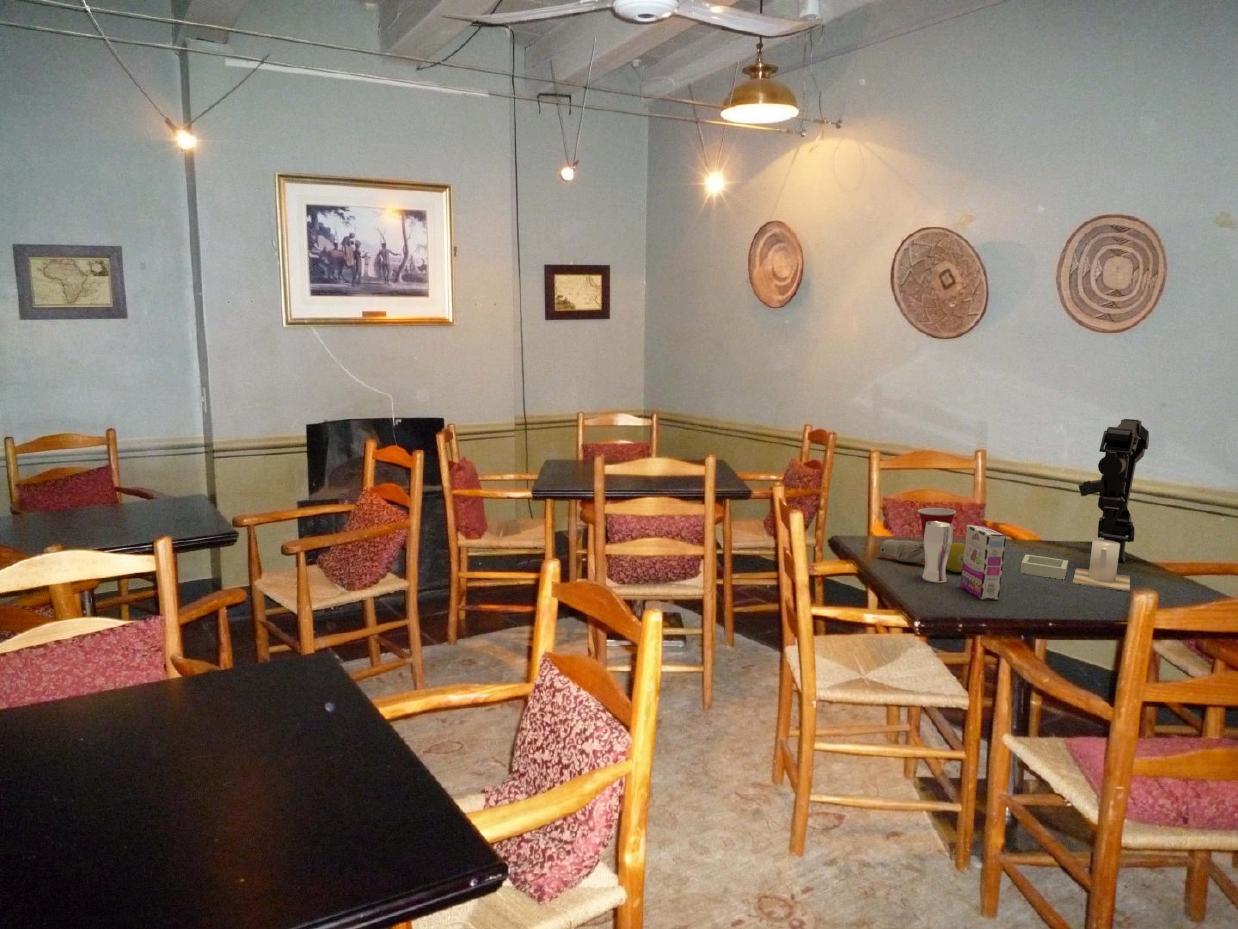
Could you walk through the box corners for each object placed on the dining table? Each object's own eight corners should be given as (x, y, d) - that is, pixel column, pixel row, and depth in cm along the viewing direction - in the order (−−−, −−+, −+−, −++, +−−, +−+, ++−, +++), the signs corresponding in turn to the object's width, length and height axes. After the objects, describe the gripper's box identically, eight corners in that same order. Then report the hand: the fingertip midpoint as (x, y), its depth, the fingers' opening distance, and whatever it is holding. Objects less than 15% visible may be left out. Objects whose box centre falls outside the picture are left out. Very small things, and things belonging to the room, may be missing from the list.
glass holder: (1024, 564, 246) (1025, 554, 245) (1066, 571, 240) (1068, 560, 240) (1020, 573, 237) (1021, 562, 236) (1064, 580, 231) (1065, 569, 231)
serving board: (1075, 570, 242) (1076, 568, 242) (1129, 578, 235) (1129, 576, 235) (1072, 583, 228) (1072, 581, 228) (1129, 592, 222) (1129, 590, 221)
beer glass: (944, 576, 230) (949, 521, 228) (951, 584, 224) (957, 527, 221) (917, 575, 231) (922, 520, 229) (923, 582, 224) (929, 526, 222)
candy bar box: (1000, 600, 211) (1007, 535, 208) (980, 600, 211) (987, 534, 208) (978, 587, 222) (984, 524, 219) (959, 586, 222) (965, 524, 219)
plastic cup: (920, 542, 269) (924, 504, 267) (956, 548, 262) (960, 509, 261) (909, 548, 260) (913, 509, 258) (946, 555, 254) (950, 515, 252)
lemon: (935, 572, 234) (938, 543, 233) (938, 565, 241) (941, 537, 240) (978, 578, 230) (981, 549, 229) (980, 571, 237) (983, 543, 236)
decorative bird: (881, 556, 250) (883, 531, 249) (938, 566, 241) (941, 540, 240) (875, 560, 246) (877, 534, 245) (933, 570, 237) (935, 544, 236)
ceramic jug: (1089, 573, 236) (1094, 538, 234) (1116, 578, 232) (1121, 542, 231) (1086, 580, 229) (1090, 543, 228) (1113, 585, 226) (1118, 547, 224)
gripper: (1083, 465, 251) (1077, 518, 254) (1080, 473, 235) (1073, 529, 238) (1127, 470, 246) (1121, 523, 248) (1127, 478, 230) (1120, 535, 232)
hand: (1108, 527), depth 242 cm, fingers open, 9 cm apart
